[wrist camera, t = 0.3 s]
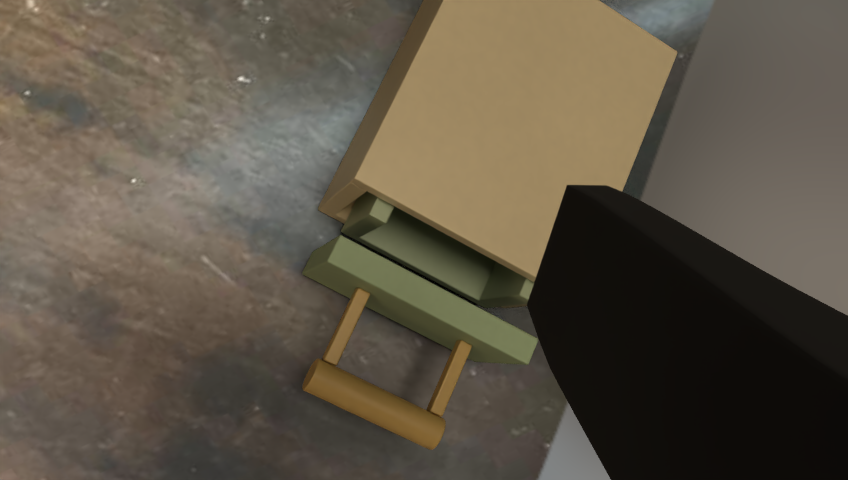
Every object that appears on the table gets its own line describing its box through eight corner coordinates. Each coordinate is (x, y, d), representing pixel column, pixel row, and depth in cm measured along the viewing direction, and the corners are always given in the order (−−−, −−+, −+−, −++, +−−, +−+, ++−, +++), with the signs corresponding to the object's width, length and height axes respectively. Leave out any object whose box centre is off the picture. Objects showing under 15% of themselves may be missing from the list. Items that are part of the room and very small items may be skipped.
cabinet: (503, 309, 40) (579, 301, 33) (316, 209, 38) (354, 178, 30) (592, 100, 43) (678, 51, 36) (424, -4, 41) (481, -78, 34)
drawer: (436, 454, 37) (484, 474, 31) (253, 369, 35) (271, 373, 29) (562, 158, 41) (624, 130, 36) (405, 65, 39) (446, 20, 33)
